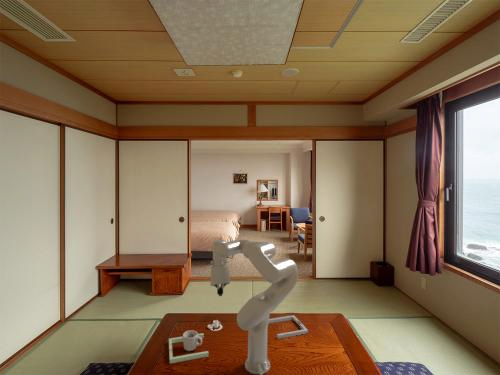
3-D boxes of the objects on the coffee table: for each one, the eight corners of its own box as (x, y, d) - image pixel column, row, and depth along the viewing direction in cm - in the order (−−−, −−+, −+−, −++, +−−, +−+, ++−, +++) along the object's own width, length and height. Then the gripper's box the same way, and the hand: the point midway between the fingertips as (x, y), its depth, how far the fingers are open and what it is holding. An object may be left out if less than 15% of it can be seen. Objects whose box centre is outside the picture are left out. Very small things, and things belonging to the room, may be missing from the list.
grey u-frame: (308, 333, 167) (308, 329, 167) (278, 338, 161) (278, 334, 161) (293, 318, 185) (293, 314, 185) (266, 322, 180) (266, 318, 179)
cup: (204, 345, 155) (204, 331, 154) (199, 354, 147) (199, 339, 147) (186, 343, 157) (186, 329, 156) (180, 351, 149) (180, 337, 149)
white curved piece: (206, 330, 171) (206, 323, 171) (211, 323, 179) (211, 317, 179) (219, 332, 169) (219, 325, 169) (223, 325, 177) (223, 319, 177)
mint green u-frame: (208, 356, 145) (208, 351, 145) (169, 363, 139) (169, 358, 139) (203, 336, 163) (203, 332, 163) (168, 342, 158) (168, 337, 157)
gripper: (207, 265, 149) (207, 299, 149) (234, 263, 154) (234, 296, 154) (205, 262, 156) (205, 294, 157) (231, 259, 161) (231, 291, 161)
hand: (220, 295), depth 155 cm, fingers closed
